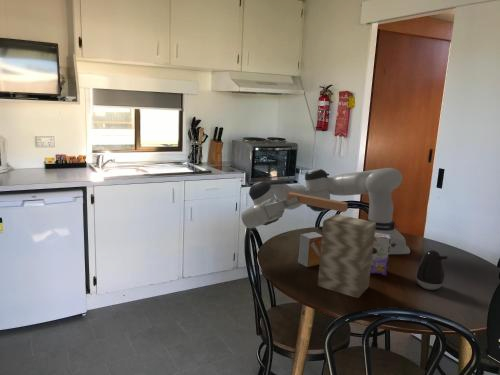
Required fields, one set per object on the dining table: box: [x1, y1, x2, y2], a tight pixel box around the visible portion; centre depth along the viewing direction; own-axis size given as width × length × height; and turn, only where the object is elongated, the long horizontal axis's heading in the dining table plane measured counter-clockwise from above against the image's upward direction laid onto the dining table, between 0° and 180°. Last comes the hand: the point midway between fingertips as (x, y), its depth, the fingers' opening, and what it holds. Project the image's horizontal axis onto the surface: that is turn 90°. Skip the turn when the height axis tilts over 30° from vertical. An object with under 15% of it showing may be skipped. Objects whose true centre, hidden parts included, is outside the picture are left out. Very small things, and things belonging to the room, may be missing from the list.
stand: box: [317, 213, 376, 299], centre depth 160 cm, size 16×12×26 cm
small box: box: [297, 231, 322, 268], centre depth 182 cm, size 8×6×13 cm
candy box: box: [370, 233, 391, 276], centre depth 177 cm, size 14×6×16 cm, turn 71°
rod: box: [287, 192, 348, 213], centre depth 163 cm, size 24×3×3 cm, turn 56°
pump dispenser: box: [415, 249, 449, 291], centre depth 164 cm, size 10×10×15 cm
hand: (300, 197), depth 166 cm, fingers closed on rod, 3 cm apart
